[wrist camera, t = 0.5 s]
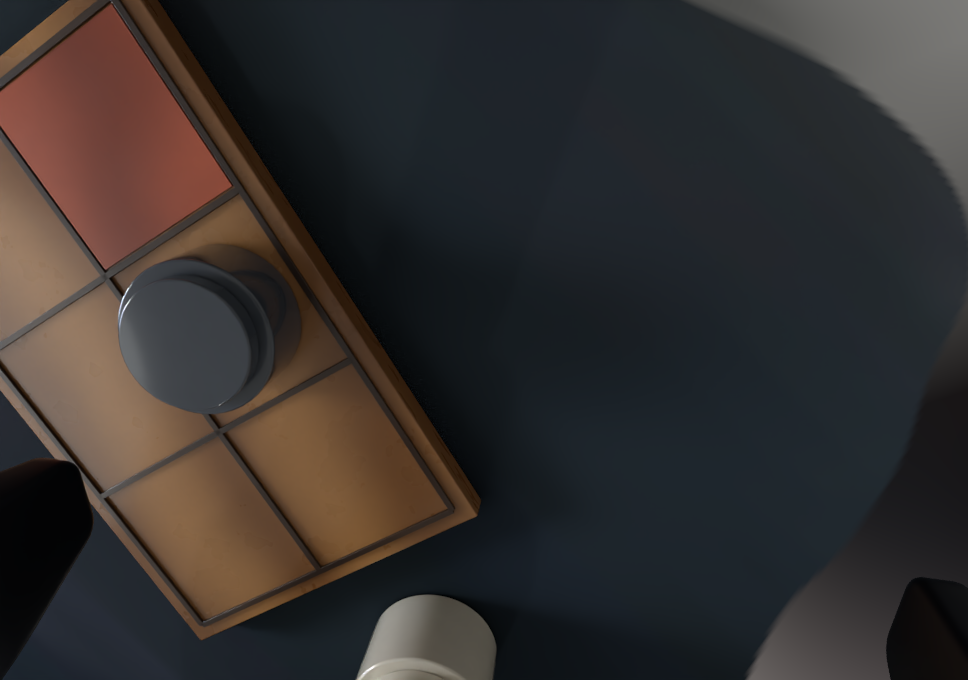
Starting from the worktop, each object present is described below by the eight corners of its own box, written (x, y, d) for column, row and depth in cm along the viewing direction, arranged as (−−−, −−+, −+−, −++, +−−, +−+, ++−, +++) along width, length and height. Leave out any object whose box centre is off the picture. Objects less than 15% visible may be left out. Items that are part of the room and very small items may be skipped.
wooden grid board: (213, 622, 28) (199, 643, 27) (-133, 184, 23) (-167, 188, 22) (481, 500, 24) (477, 518, 23) (137, -33, 20) (112, -40, 19)
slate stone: (217, 409, 23) (172, 449, 21) (130, 288, 22) (70, 314, 20) (330, 345, 22) (297, 380, 20) (243, 215, 21) (196, 232, 18)
